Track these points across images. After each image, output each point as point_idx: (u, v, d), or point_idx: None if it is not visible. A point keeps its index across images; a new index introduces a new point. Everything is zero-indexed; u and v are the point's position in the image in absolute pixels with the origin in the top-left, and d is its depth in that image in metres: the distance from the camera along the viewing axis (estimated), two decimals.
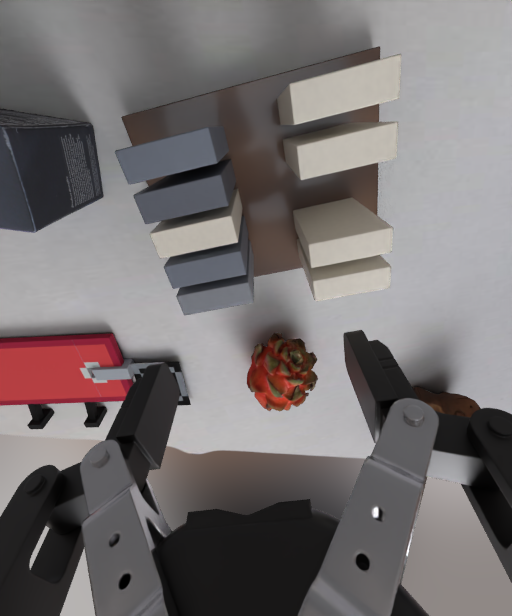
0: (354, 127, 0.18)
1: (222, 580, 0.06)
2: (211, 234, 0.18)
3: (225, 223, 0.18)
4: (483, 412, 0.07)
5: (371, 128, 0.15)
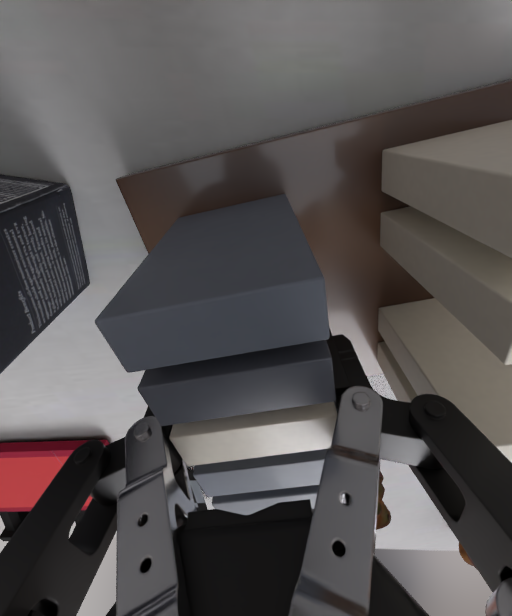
0: None
1: (222, 580, 0.06)
2: (291, 438, 0.09)
3: (322, 424, 0.09)
4: (419, 399, 0.08)
5: None
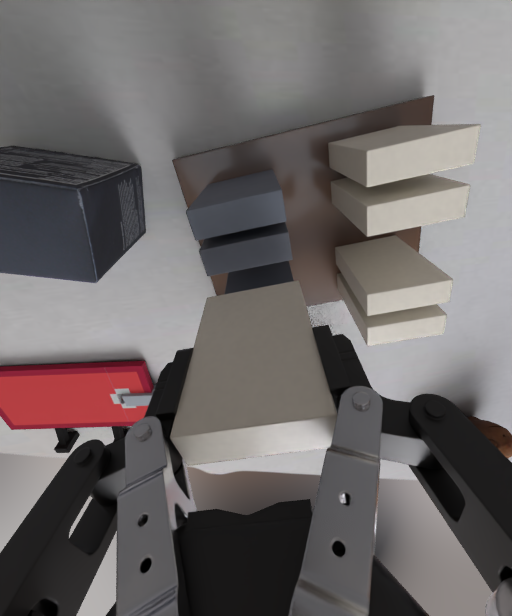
0: (416, 181, 0.18)
1: (222, 580, 0.06)
2: (291, 437, 0.09)
3: (322, 424, 0.09)
4: (419, 399, 0.08)
5: (442, 190, 0.15)
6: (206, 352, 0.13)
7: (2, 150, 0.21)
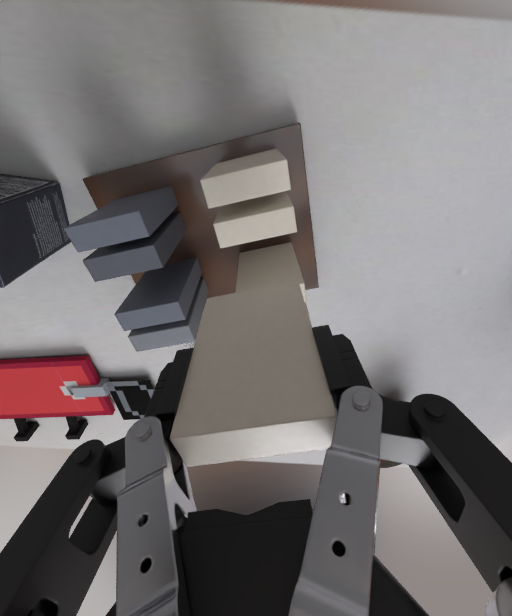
0: (270, 200, 0.21)
1: (222, 580, 0.06)
2: (291, 438, 0.09)
3: (322, 425, 0.09)
4: (419, 399, 0.08)
5: (272, 210, 0.19)
6: (206, 352, 0.13)
7: None
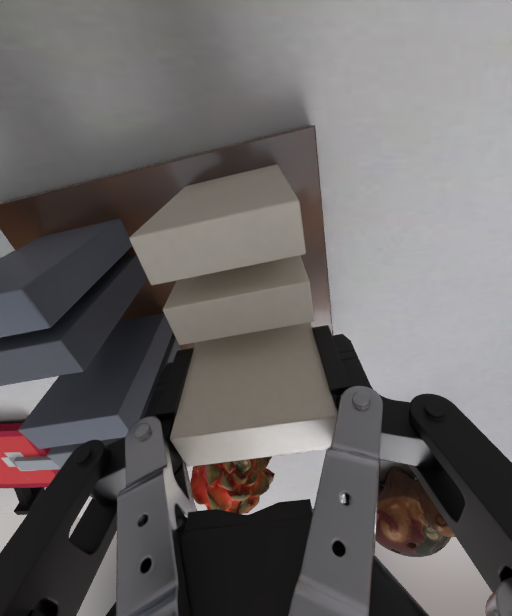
0: None
1: (222, 580, 0.06)
2: (291, 439, 0.09)
3: (323, 425, 0.09)
4: (419, 399, 0.08)
5: (270, 288, 0.10)
6: (206, 352, 0.13)
7: None
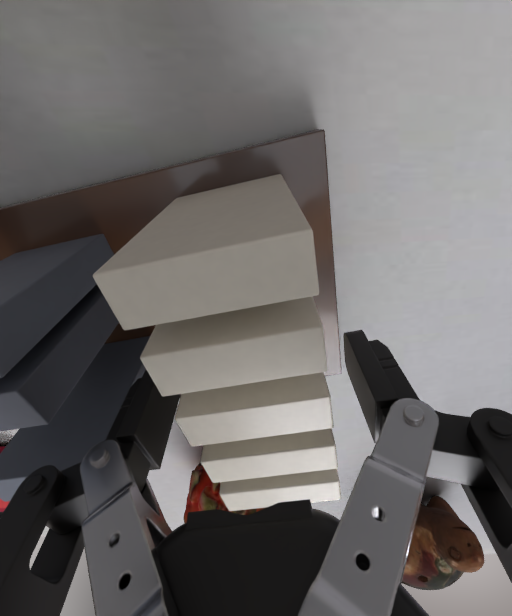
0: None
1: (222, 580, 0.06)
2: (288, 419, 0.10)
3: (316, 406, 0.10)
4: (483, 412, 0.07)
5: (273, 334, 0.08)
6: None
7: None
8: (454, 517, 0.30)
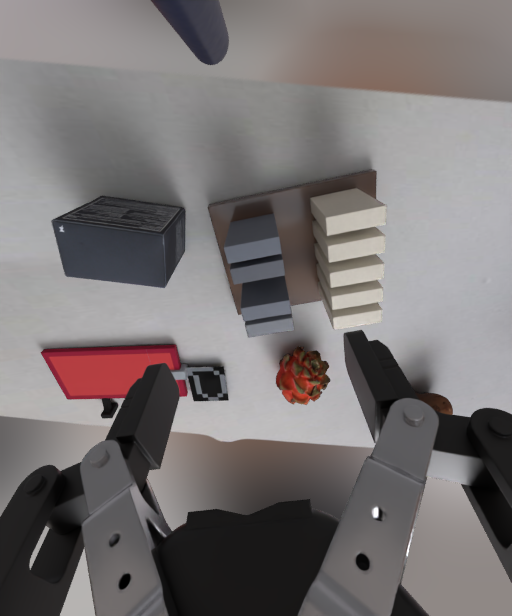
0: None
1: (222, 580, 0.06)
2: (368, 273, 0.29)
3: (379, 267, 0.29)
4: (483, 412, 0.07)
5: (370, 237, 0.27)
6: None
7: (99, 201, 0.33)
8: (436, 394, 0.49)
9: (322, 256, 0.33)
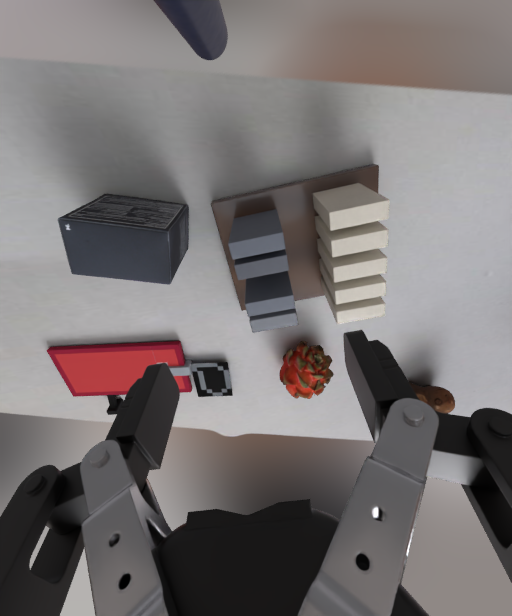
0: None
1: (222, 580, 0.06)
2: (371, 268, 0.29)
3: (382, 261, 0.29)
4: (483, 412, 0.07)
5: (373, 232, 0.28)
6: None
7: (104, 199, 0.33)
8: (438, 387, 0.49)
9: (325, 251, 0.33)
